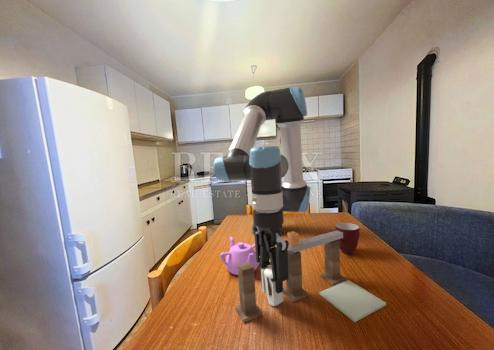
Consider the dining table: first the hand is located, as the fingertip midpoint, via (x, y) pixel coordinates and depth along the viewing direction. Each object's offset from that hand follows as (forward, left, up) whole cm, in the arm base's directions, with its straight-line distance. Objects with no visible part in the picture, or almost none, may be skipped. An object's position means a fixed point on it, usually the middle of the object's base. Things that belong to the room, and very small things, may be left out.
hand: (272, 296), depth 56 cm
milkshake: (0, 0, -2) cm, 2 cm away
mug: (-9, +37, -2) cm, 38 cm away
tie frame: (0, +7, -2) cm, 7 cm away
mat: (+9, +18, -2) cm, 20 cm away
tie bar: (0, +15, +11) cm, 19 cm away
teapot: (-20, 0, -2) cm, 20 cm away
